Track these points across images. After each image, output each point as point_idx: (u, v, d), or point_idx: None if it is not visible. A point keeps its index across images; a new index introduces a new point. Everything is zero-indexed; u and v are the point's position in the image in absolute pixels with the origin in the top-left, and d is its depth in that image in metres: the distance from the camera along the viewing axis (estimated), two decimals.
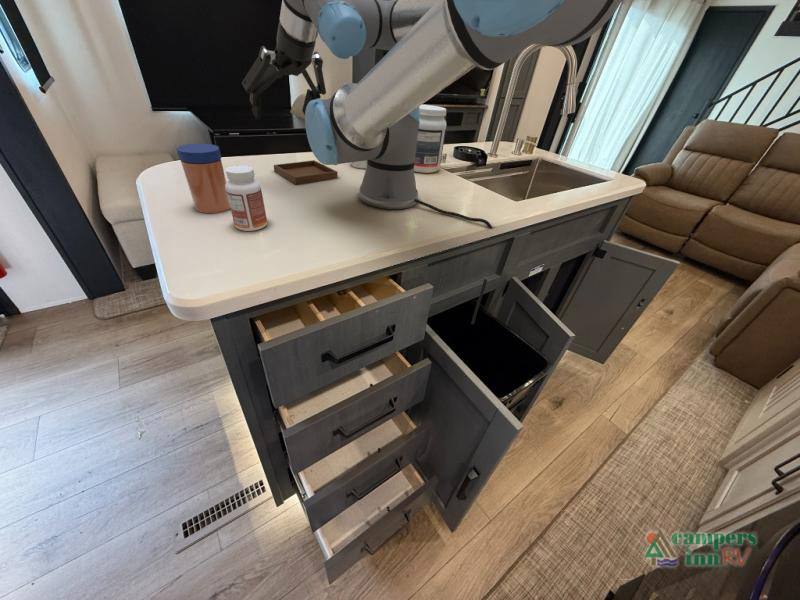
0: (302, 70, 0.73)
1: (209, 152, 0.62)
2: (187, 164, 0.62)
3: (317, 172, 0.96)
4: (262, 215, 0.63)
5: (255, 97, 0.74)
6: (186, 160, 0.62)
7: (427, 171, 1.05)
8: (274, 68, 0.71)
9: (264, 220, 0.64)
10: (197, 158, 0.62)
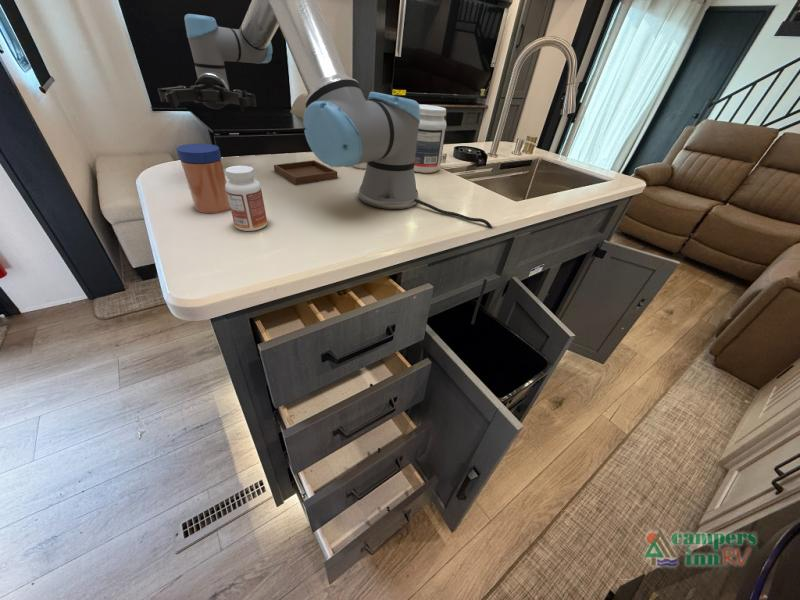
0: (216, 86, 0.80)
1: (209, 152, 0.62)
2: (187, 164, 0.62)
3: (317, 172, 0.96)
4: (262, 215, 0.63)
5: (169, 93, 0.72)
6: (186, 160, 0.62)
7: (427, 171, 1.05)
8: None
9: (264, 220, 0.64)
10: (197, 158, 0.62)
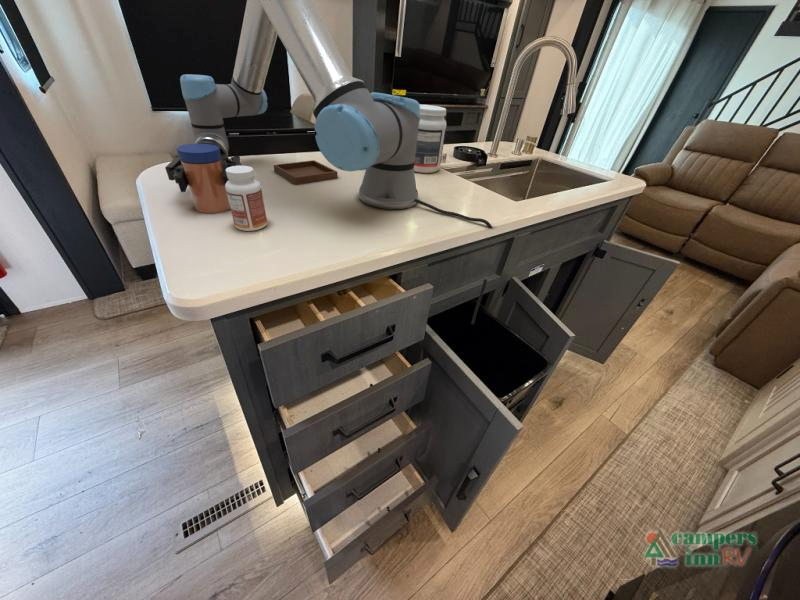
0: None
1: (209, 152, 0.62)
2: (187, 164, 0.62)
3: (317, 172, 0.96)
4: (262, 215, 0.63)
5: (178, 172, 0.66)
6: (186, 160, 0.62)
7: (427, 171, 1.05)
8: None
9: (264, 220, 0.64)
10: (197, 158, 0.62)
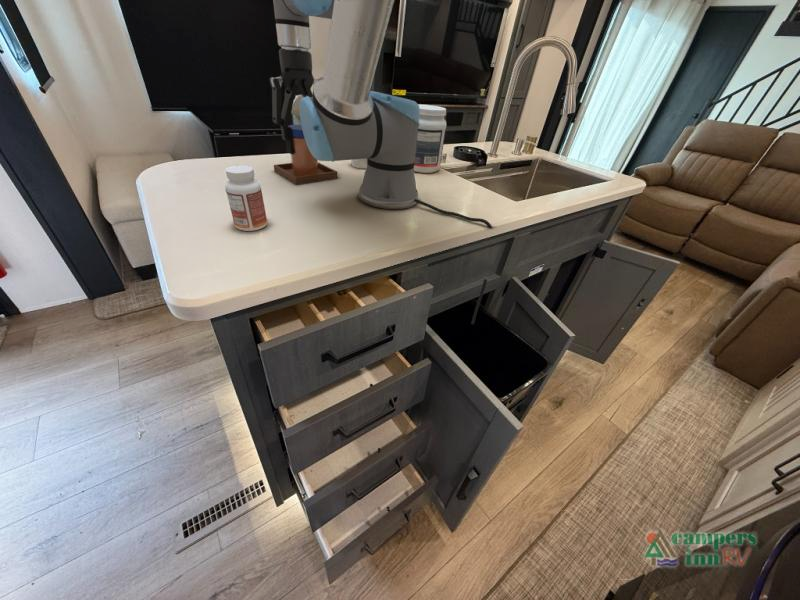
0: (307, 86, 0.81)
1: None
2: (295, 139, 0.85)
3: None
4: (262, 215, 0.63)
5: (285, 129, 0.84)
6: (295, 135, 0.85)
7: (427, 171, 1.05)
8: (287, 94, 0.81)
9: (264, 220, 0.64)
10: (303, 134, 0.85)
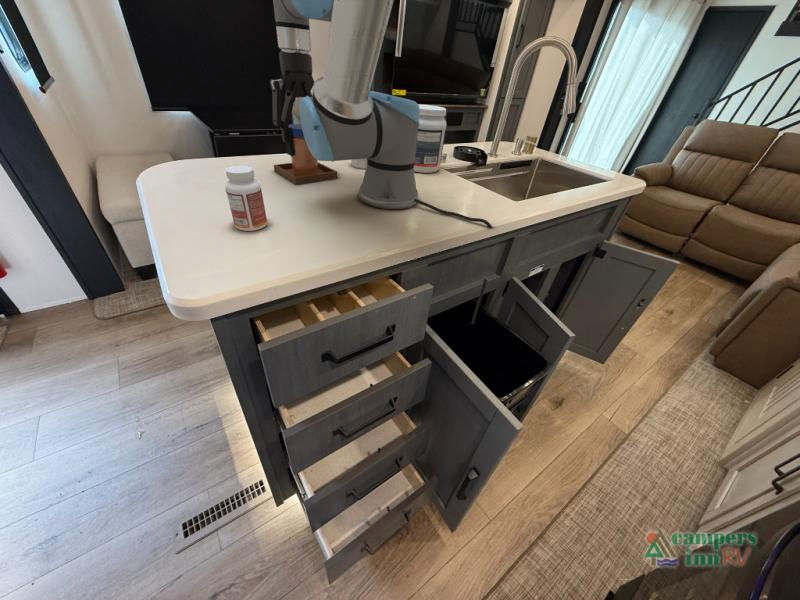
0: (307, 89, 0.81)
1: None
2: (295, 139, 0.85)
3: None
4: (262, 215, 0.63)
5: (285, 132, 0.84)
6: None
7: (427, 171, 1.05)
8: (288, 97, 0.81)
9: (264, 220, 0.64)
10: None
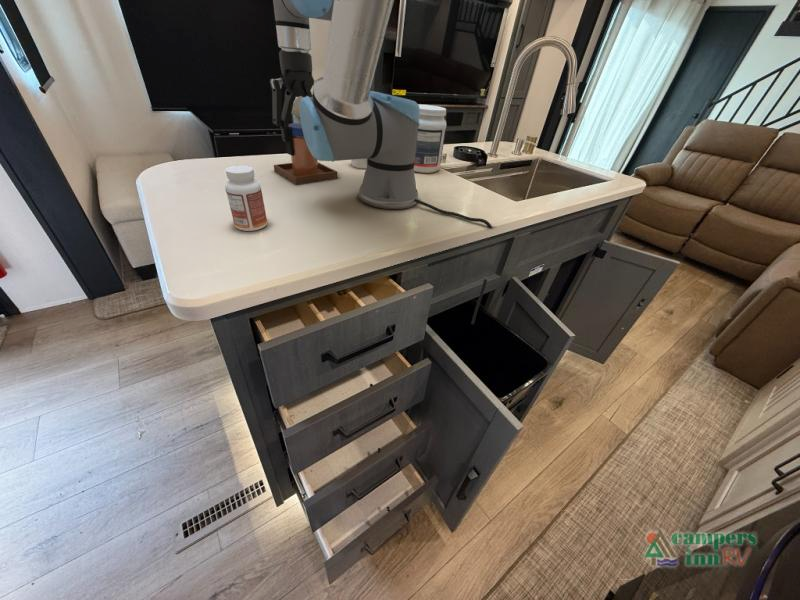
0: (307, 88, 0.81)
1: (289, 127, 0.85)
2: (295, 139, 0.85)
3: None
4: (262, 215, 0.63)
5: (285, 131, 0.84)
6: None
7: (427, 171, 1.05)
8: (288, 96, 0.81)
9: (264, 220, 0.64)
10: None
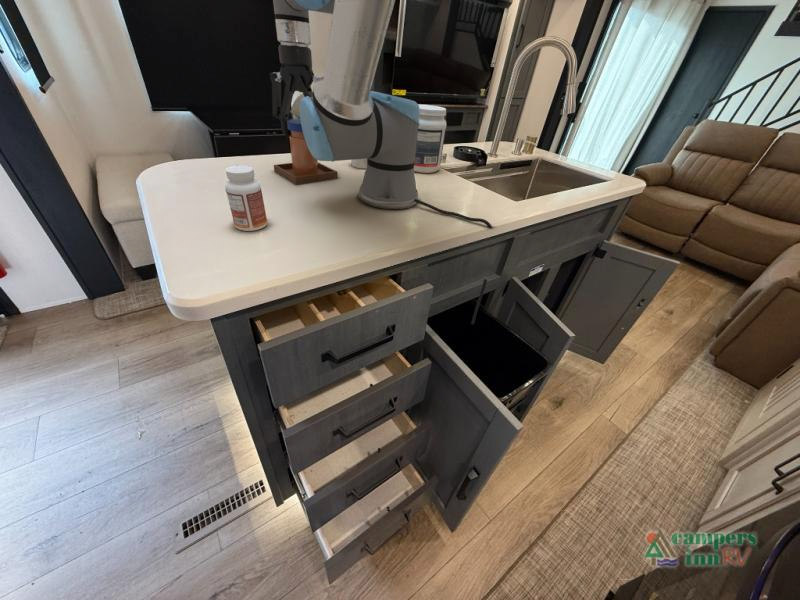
0: None
1: None
2: (296, 139, 0.85)
3: None
4: (262, 215, 0.63)
5: None
6: (300, 130, 0.84)
7: (427, 171, 1.05)
8: (310, 92, 0.82)
9: (264, 220, 0.64)
10: None
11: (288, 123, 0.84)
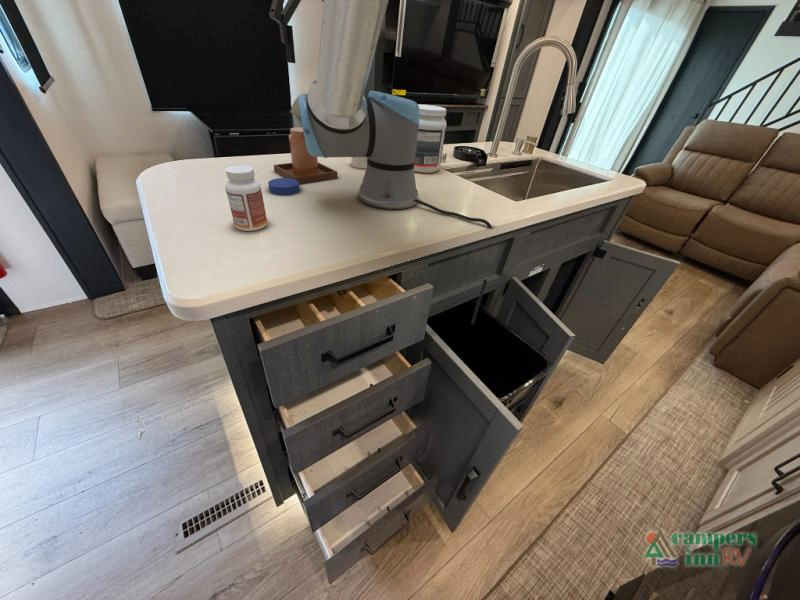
0: None
1: (296, 181, 0.84)
2: (296, 139, 0.85)
3: None
4: (262, 215, 0.63)
5: None
6: (295, 191, 0.81)
7: (427, 171, 1.05)
8: None
9: (264, 220, 0.64)
10: None
11: (280, 188, 0.79)
